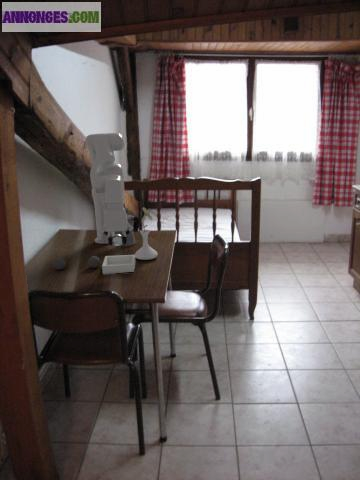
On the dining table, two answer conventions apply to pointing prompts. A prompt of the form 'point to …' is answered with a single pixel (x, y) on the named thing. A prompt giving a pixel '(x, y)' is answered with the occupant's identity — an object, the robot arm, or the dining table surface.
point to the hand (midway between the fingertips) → (117, 244)
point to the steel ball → (117, 240)
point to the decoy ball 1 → (59, 263)
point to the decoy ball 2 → (94, 261)
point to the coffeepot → (130, 236)
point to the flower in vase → (145, 243)
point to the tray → (118, 264)
